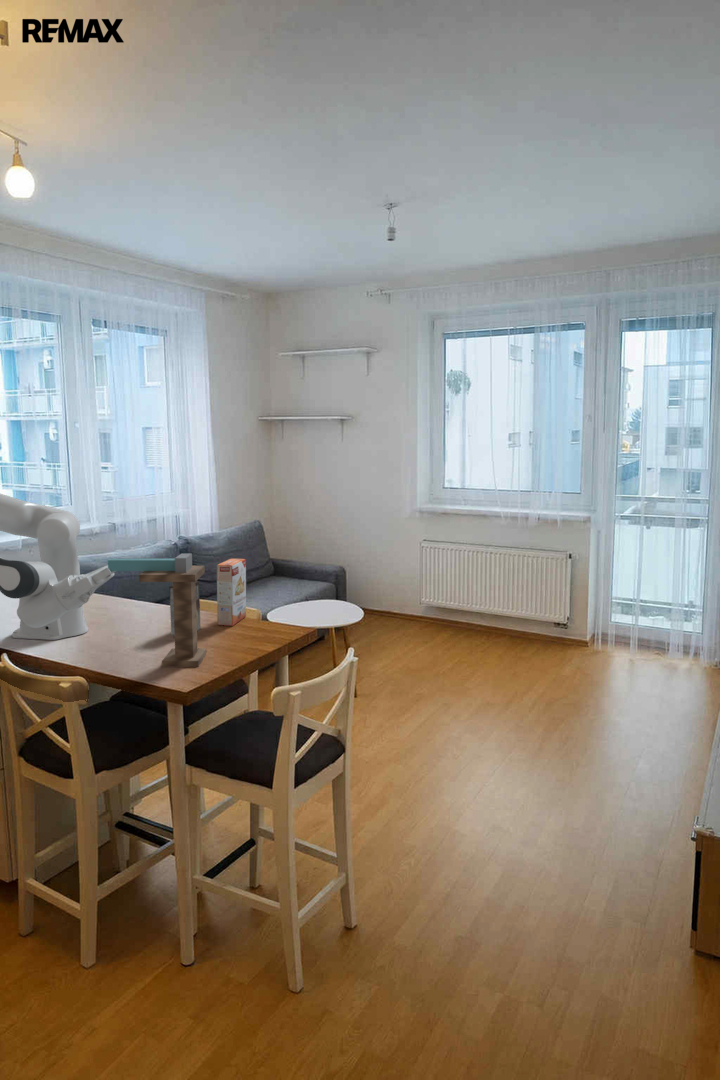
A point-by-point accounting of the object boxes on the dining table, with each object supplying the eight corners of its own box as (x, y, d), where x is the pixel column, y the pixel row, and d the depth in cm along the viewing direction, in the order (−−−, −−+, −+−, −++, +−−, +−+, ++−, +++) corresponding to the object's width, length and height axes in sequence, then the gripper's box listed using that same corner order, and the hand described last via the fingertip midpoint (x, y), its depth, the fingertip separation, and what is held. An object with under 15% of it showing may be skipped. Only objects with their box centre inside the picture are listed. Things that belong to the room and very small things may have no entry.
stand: (142, 667, 200) (139, 574, 196) (155, 652, 213) (152, 565, 210) (197, 667, 200) (195, 574, 196) (207, 652, 214) (204, 565, 210)
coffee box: (183, 628, 241) (181, 580, 239) (201, 629, 240) (199, 581, 238) (170, 635, 233) (168, 585, 230) (189, 636, 231) (187, 586, 229)
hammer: (105, 572, 199) (104, 558, 198) (114, 567, 207) (113, 553, 206) (186, 572, 199) (185, 558, 199) (192, 567, 207) (191, 553, 207)
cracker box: (234, 626, 243) (232, 565, 240) (216, 625, 244) (215, 564, 241) (247, 616, 257) (246, 558, 254) (231, 615, 258) (230, 557, 255)
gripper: (52, 589, 192) (97, 564, 192) (80, 575, 213) (120, 552, 212) (65, 610, 193) (110, 584, 193) (92, 593, 214) (132, 570, 213)
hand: (115, 567), depth 202 cm, fingers open, 8 cm apart
